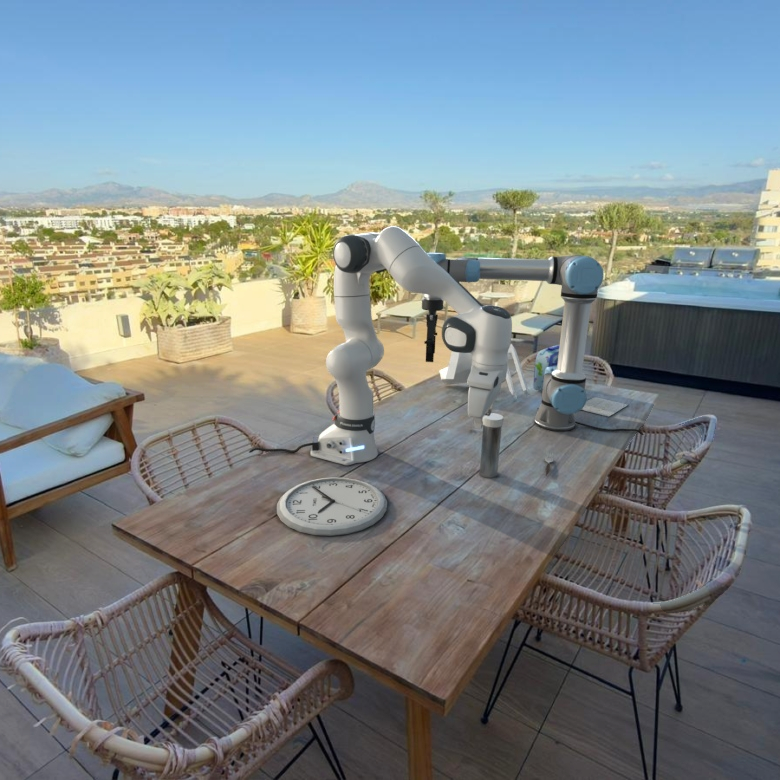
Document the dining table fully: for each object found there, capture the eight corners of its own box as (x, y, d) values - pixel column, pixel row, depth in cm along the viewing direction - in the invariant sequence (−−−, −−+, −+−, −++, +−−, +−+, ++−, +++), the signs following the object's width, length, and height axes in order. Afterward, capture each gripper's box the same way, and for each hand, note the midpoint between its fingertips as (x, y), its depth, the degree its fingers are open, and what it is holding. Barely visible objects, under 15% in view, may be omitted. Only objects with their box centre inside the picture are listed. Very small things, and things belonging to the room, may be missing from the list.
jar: (484, 468, 166) (488, 413, 161) (500, 473, 163) (505, 417, 158) (476, 474, 162) (480, 418, 157) (493, 479, 159) (497, 422, 154)
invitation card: (608, 416, 214) (573, 407, 224) (608, 416, 214) (573, 408, 224) (628, 404, 229) (594, 396, 238) (628, 405, 229) (594, 397, 238)
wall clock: (392, 527, 129) (268, 531, 127) (391, 533, 130) (269, 537, 127) (383, 473, 158) (282, 475, 155) (383, 478, 158) (282, 480, 156)
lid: (487, 418, 162) (487, 411, 161) (506, 423, 159) (506, 415, 158) (478, 424, 157) (479, 417, 156) (497, 429, 154) (498, 421, 153)
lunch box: (550, 397, 237) (555, 352, 231) (529, 391, 245) (533, 348, 238) (577, 386, 255) (582, 344, 249) (556, 381, 262) (561, 340, 256)
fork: (541, 476, 161) (542, 470, 161) (545, 456, 176) (546, 450, 175) (550, 477, 161) (551, 471, 160) (553, 457, 175) (554, 451, 174)
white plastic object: (461, 429, 252) (437, 405, 227) (444, 352, 274) (420, 323, 250) (535, 404, 240) (518, 377, 215) (510, 326, 262) (492, 293, 237)
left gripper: (486, 358, 142) (481, 405, 147) (465, 381, 124) (460, 433, 129) (509, 362, 139) (503, 409, 144) (491, 386, 122) (485, 439, 127)
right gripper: (424, 293, 195) (422, 349, 202) (419, 302, 172) (417, 365, 178) (444, 294, 195) (441, 350, 201) (442, 303, 171) (439, 366, 177)
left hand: (482, 421), depth 137 cm, fingers open, 8 cm apart
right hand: (430, 357), depth 190 cm, fingers open, 13 cm apart
